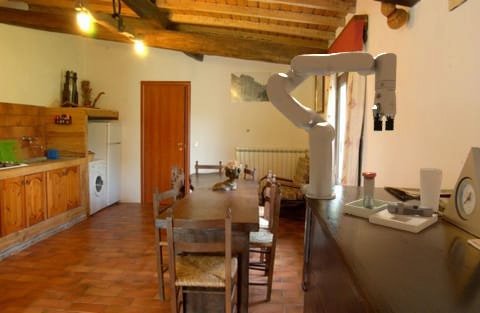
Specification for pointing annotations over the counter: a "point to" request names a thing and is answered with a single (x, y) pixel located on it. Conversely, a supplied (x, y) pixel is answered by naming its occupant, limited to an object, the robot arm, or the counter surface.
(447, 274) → the counter surface
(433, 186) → the drinking glass
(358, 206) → the tray
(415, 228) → the pulley board
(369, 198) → the lock pin
